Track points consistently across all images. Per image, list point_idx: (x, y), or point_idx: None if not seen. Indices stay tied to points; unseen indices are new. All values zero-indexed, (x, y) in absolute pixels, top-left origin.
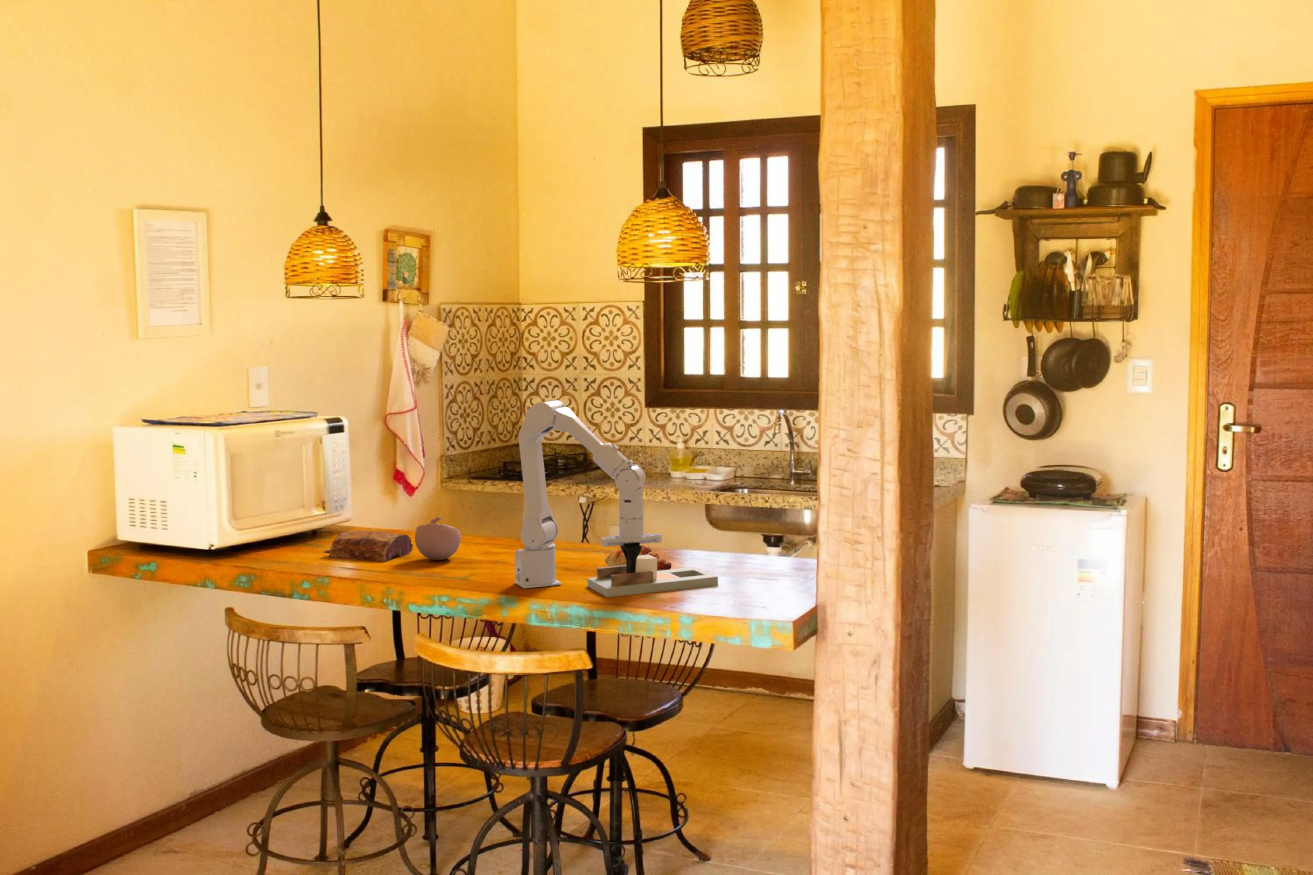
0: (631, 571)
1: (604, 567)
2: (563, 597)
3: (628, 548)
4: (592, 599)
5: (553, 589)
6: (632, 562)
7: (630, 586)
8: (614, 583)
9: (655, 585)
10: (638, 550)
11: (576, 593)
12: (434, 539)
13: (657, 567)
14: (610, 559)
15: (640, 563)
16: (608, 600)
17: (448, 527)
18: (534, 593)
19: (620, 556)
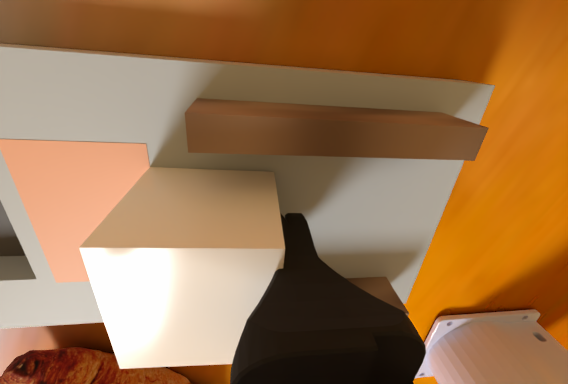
0: (298, 221)
1: None
2: (560, 170)
3: (419, 339)
4: (529, 75)
5: (487, 281)
6: (308, 251)
7: (361, 75)
8: (443, 116)
9: (195, 61)
10: (283, 315)
11: (485, 207)
12: None
13: (80, 366)
14: None
15: (254, 225)
16: (503, 4)
17: None
18: (560, 258)
19: None
